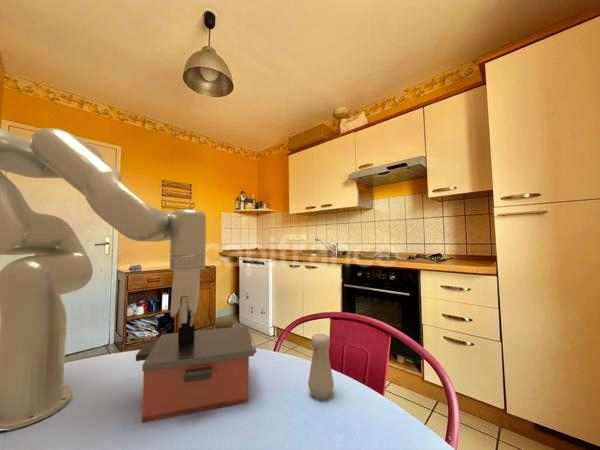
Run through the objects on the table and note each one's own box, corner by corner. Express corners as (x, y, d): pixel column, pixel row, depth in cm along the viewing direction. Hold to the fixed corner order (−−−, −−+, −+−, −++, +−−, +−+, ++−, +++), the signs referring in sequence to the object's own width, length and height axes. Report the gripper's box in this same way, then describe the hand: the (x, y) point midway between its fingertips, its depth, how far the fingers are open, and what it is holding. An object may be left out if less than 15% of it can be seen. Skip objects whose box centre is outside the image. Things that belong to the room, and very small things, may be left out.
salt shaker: (315, 383, 60) (315, 329, 61) (337, 391, 57) (337, 333, 58) (303, 397, 55) (303, 337, 56) (327, 405, 52) (326, 342, 53)
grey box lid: (126, 373, 47) (127, 366, 47) (150, 340, 62) (150, 335, 62) (256, 355, 54) (256, 349, 54) (249, 329, 69) (249, 325, 69)
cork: (236, 352, 78) (237, 316, 78) (229, 361, 72) (229, 322, 72) (218, 351, 78) (218, 315, 79) (209, 360, 72) (209, 321, 73)
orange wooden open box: (137, 432, 45) (139, 376, 46) (161, 377, 63) (162, 338, 64) (249, 409, 51) (249, 360, 52) (242, 365, 69) (242, 329, 70)
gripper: (175, 260, 64) (174, 334, 63) (162, 266, 50) (160, 361, 49) (207, 260, 66) (205, 330, 65) (202, 265, 52) (201, 355, 51)
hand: (186, 343), depth 57 cm, fingers closed
